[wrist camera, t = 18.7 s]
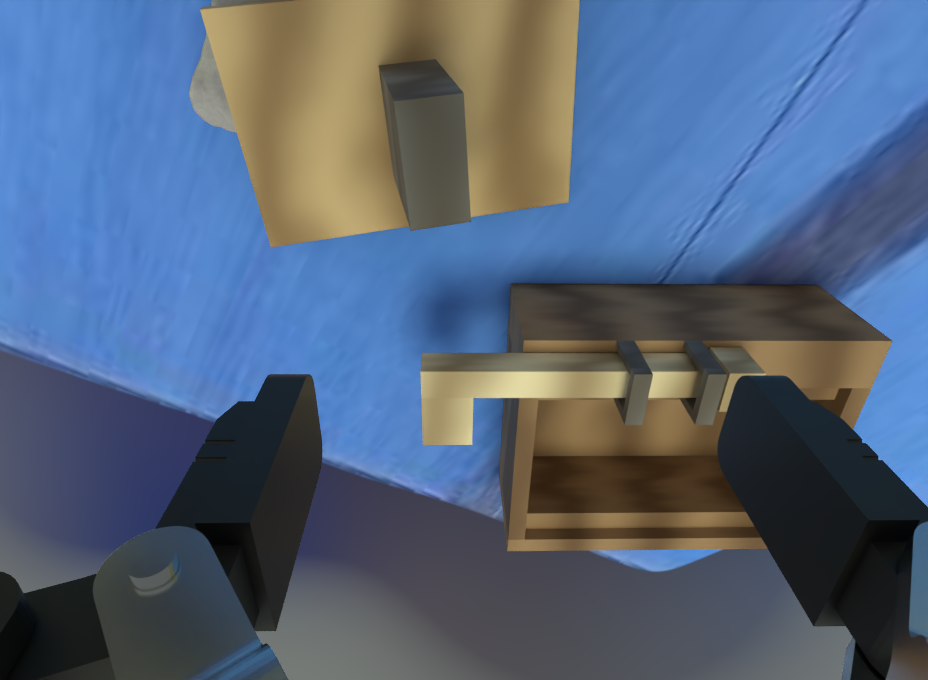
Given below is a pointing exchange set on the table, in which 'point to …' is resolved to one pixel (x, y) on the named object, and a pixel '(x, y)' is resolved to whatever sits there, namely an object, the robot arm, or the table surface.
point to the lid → (398, 109)
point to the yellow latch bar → (553, 382)
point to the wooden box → (660, 408)
